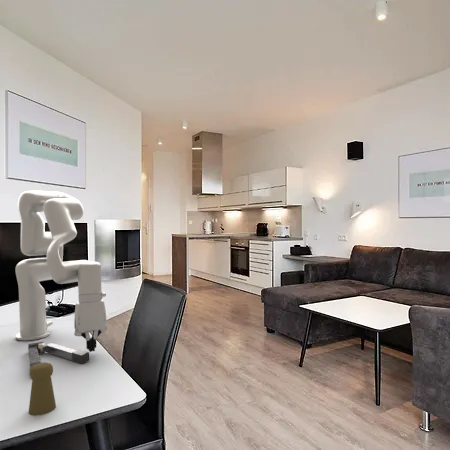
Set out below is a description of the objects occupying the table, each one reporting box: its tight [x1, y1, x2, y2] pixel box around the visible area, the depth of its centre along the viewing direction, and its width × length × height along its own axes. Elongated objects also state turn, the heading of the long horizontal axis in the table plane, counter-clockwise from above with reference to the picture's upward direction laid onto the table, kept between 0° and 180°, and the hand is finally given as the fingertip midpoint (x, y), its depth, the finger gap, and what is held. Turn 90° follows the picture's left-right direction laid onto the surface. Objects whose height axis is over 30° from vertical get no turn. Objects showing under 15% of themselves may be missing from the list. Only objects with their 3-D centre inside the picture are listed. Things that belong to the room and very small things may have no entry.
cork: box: [28, 361, 57, 416], centre depth 89 cm, size 6×6×11 cm
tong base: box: [27, 341, 45, 370], centre depth 120 cm, size 26×5×3 cm, turn 31°
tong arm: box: [38, 342, 90, 365], centre depth 124 cm, size 22×5×3 cm, turn 56°
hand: (91, 350), depth 126 cm, fingers closed
